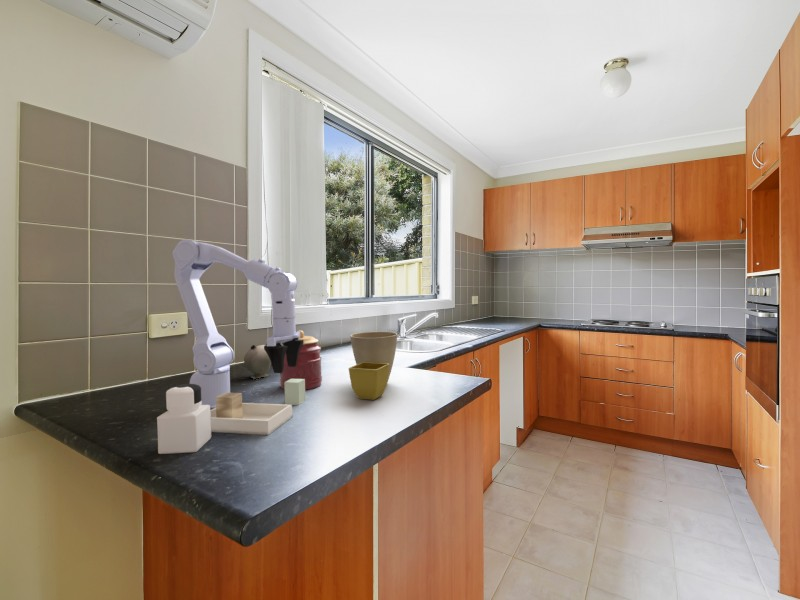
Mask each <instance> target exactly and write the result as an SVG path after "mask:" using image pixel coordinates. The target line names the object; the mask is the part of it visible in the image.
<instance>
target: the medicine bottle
mask: <svg viewBox="0 0 800 600" xmlns="http://www.w3.org/2000/svg"><path fill="white" fill-rule="evenodd" d="M165 400H166V410H167V411H165V412H163V413H162V414H159V416H157V417H156V431H157V432H156V434H157V453H158V454H159V455H167V454H183V453H184V454H188V453H189V454H190V453H196V452H198V451H199V450H200V449H201V448H202V447H203V446H204V445H206V444H207V443H208V442H209V440H211V438H212V432H211V415H210V410H211V408H210V405H201V404H202V399H201V387H200V386H199V385H196V384H190V383H183V384H177V385H174V386H172V387H170V388H168V389H167V390H166V391H165Z"/></svg>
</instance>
